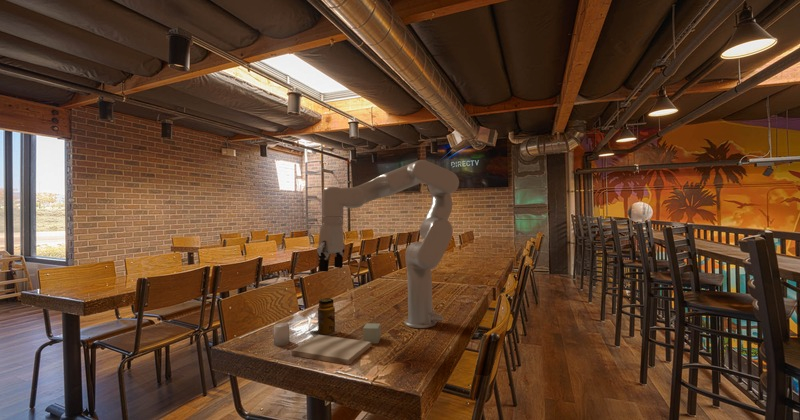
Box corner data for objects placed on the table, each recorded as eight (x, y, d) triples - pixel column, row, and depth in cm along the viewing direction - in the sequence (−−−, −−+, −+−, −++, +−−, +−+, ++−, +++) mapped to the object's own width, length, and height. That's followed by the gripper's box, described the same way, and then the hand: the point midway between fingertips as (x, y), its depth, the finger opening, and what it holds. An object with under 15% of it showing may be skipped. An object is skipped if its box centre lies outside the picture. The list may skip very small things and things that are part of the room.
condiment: (339, 333, 121) (338, 300, 121) (316, 338, 116) (315, 303, 116) (331, 327, 127) (330, 296, 127) (309, 332, 122) (309, 299, 122)
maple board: (370, 346, 108) (370, 341, 108) (348, 364, 95) (348, 359, 95) (318, 339, 115) (318, 334, 115) (291, 355, 102) (291, 350, 102)
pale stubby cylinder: (292, 341, 114) (292, 323, 114) (282, 346, 109) (282, 328, 109) (281, 339, 116) (280, 322, 116) (270, 344, 111) (270, 326, 111)
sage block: (380, 338, 115) (380, 323, 115) (378, 343, 110) (377, 328, 110) (366, 337, 116) (366, 323, 116) (363, 343, 111) (363, 328, 111)
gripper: (336, 221, 129) (334, 265, 129) (309, 221, 113) (308, 271, 113) (353, 221, 127) (352, 266, 126) (328, 221, 110) (327, 273, 110)
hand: (331, 269), depth 119 cm, fingers open, 9 cm apart
